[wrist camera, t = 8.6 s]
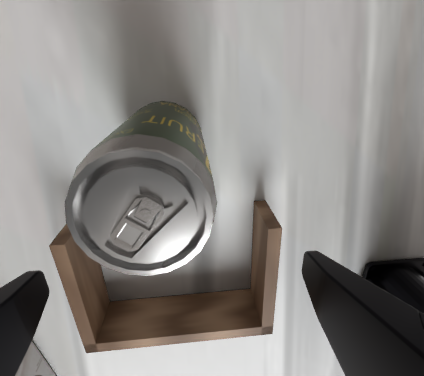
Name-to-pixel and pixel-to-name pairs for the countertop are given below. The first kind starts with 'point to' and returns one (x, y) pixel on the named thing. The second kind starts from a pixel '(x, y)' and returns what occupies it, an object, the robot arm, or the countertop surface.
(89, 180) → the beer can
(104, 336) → the wooden u-shaped frame
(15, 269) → the countertop surface
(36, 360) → the coffee box
